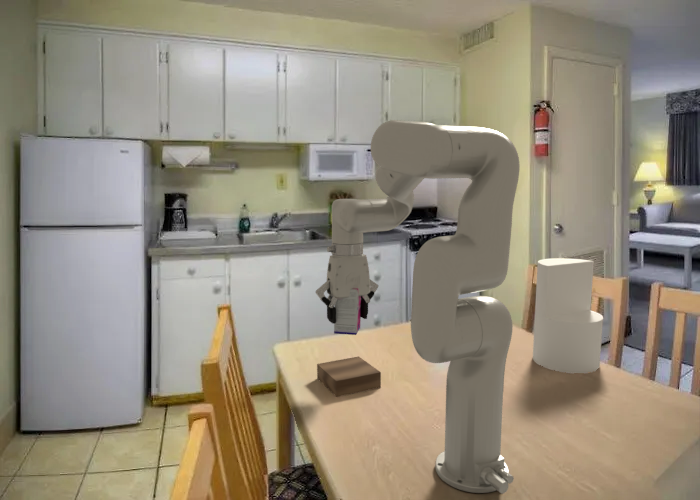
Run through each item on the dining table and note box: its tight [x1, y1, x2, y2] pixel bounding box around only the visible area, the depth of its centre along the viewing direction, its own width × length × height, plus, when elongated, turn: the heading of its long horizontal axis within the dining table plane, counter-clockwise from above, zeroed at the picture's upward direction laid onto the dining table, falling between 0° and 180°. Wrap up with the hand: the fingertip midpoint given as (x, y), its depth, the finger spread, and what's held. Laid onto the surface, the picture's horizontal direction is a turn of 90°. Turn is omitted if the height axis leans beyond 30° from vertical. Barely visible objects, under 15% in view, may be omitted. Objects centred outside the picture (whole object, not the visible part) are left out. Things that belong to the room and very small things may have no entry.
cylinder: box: [532, 257, 604, 374], centre depth 137 cm, size 17×17×28 cm
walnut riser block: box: [316, 356, 382, 398], centre depth 125 cm, size 12×12×4 cm
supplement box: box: [333, 289, 362, 336], centre depth 123 cm, size 6×6×12 cm
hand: (347, 319), depth 123 cm, fingers closed on supplement box, 7 cm apart
